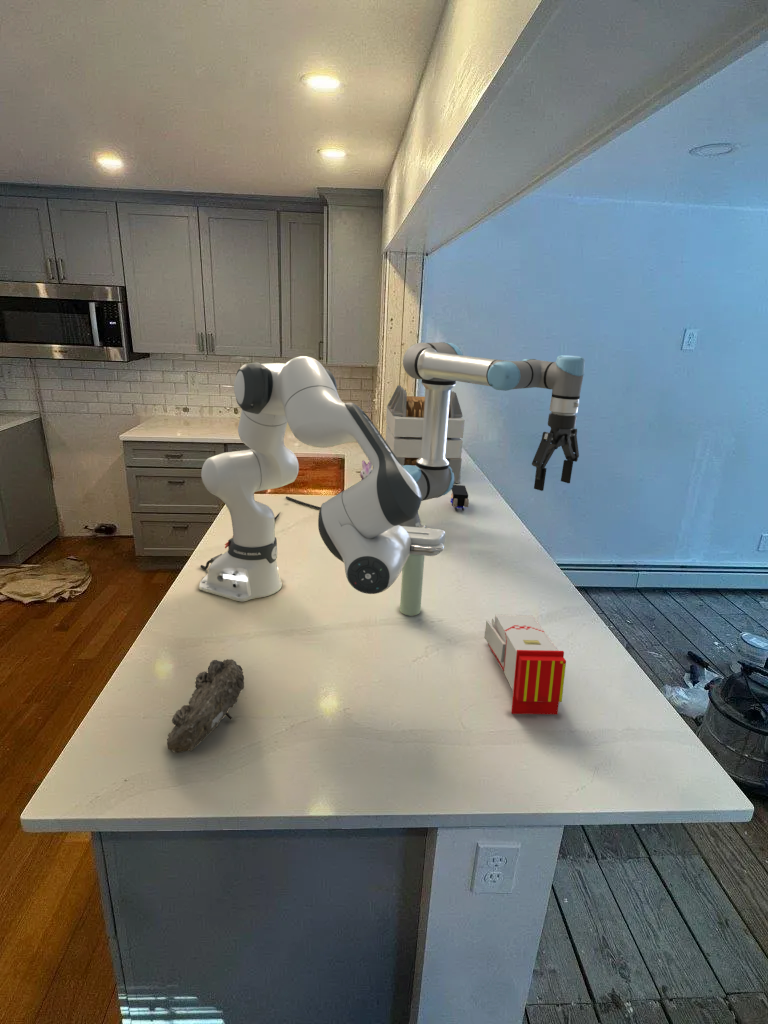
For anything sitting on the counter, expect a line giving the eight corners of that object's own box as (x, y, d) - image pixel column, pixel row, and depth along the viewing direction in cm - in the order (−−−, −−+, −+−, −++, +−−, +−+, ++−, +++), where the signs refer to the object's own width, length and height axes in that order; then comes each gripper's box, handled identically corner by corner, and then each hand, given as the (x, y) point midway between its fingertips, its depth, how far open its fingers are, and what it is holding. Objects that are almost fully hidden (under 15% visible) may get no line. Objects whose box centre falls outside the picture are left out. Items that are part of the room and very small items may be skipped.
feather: (287, 506, 225) (290, 502, 224) (270, 530, 198) (272, 526, 198) (283, 504, 225) (286, 500, 224) (265, 527, 198) (268, 523, 197)
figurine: (363, 499, 233) (364, 464, 228) (353, 492, 242) (354, 458, 236) (383, 497, 237) (385, 462, 232) (373, 490, 246) (374, 456, 241)
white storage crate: (382, 463, 289) (386, 382, 275) (445, 464, 293) (451, 384, 279) (390, 482, 257) (394, 392, 243) (460, 483, 261) (468, 394, 247)
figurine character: (468, 516, 224) (463, 500, 237) (471, 498, 221) (465, 483, 234) (452, 515, 224) (447, 499, 237) (453, 498, 220) (449, 482, 234)
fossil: (192, 660, 117) (244, 628, 112) (224, 691, 120) (276, 661, 115) (142, 746, 98) (202, 712, 93) (182, 779, 101) (242, 748, 96)
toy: (530, 600, 137) (574, 657, 108) (525, 651, 140) (567, 720, 111) (480, 599, 137) (511, 656, 107) (477, 651, 139) (506, 719, 110)
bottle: (397, 606, 151) (401, 531, 144) (416, 604, 153) (421, 529, 145) (403, 616, 146) (408, 539, 139) (423, 614, 148) (429, 537, 140)
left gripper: (443, 535, 104) (450, 516, 117) (335, 526, 108) (354, 508, 121) (441, 568, 105) (448, 545, 119) (335, 557, 109) (353, 537, 122)
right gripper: (548, 419, 148) (537, 496, 155) (598, 411, 163) (586, 482, 171) (525, 414, 153) (515, 489, 160) (575, 407, 169) (564, 476, 176)
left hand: (400, 527), depth 120 cm, fingers open, 8 cm apart
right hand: (552, 485), depth 166 cm, fingers open, 13 cm apart
